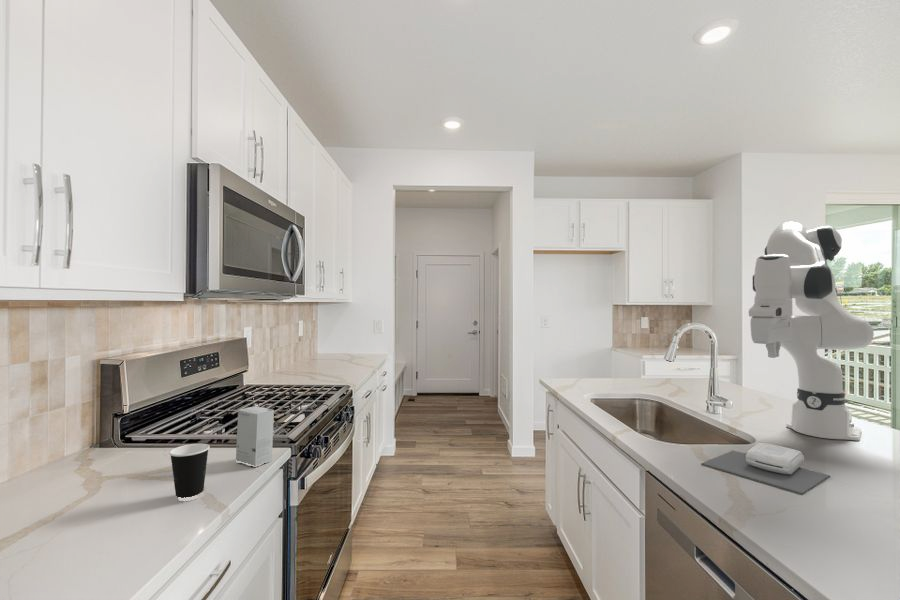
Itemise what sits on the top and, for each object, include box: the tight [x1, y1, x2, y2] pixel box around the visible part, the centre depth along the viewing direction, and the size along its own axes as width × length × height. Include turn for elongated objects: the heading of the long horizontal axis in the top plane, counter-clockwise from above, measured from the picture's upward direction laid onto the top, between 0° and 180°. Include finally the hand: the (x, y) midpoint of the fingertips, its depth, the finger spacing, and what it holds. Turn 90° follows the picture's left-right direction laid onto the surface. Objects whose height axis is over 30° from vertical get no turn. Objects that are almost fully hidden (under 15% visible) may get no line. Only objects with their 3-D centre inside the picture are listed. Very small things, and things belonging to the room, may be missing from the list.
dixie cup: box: [168, 443, 211, 498], centre depth 98 cm, size 8×8×11 cm
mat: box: [701, 449, 831, 496], centre depth 111 cm, size 18×22×1 cm
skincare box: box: [235, 405, 275, 466], centre depth 119 cm, size 8×6×15 cm
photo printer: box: [746, 442, 805, 474], centre depth 112 cm, size 10×4×12 cm
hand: (773, 357), depth 124 cm, fingers closed
